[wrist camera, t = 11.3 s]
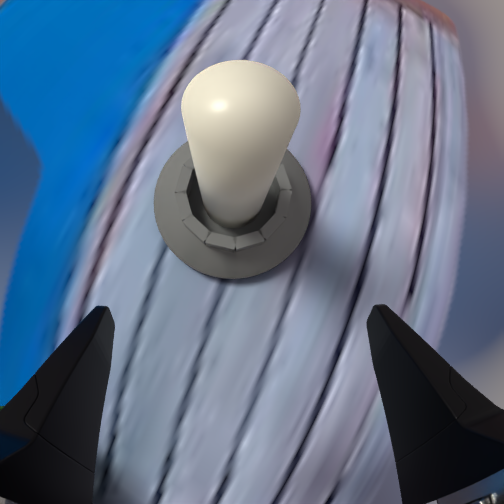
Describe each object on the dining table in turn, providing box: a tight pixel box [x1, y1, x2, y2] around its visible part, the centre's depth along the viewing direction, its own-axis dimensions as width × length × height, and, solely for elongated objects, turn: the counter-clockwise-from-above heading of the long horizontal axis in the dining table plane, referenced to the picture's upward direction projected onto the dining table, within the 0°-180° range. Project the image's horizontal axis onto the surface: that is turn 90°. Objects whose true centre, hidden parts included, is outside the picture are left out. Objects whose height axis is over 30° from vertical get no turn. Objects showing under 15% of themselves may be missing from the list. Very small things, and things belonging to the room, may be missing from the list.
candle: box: [181, 60, 300, 228], centre depth 17 cm, size 4×4×13 cm
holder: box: [154, 141, 311, 279], centre depth 23 cm, size 12×12×3 cm
